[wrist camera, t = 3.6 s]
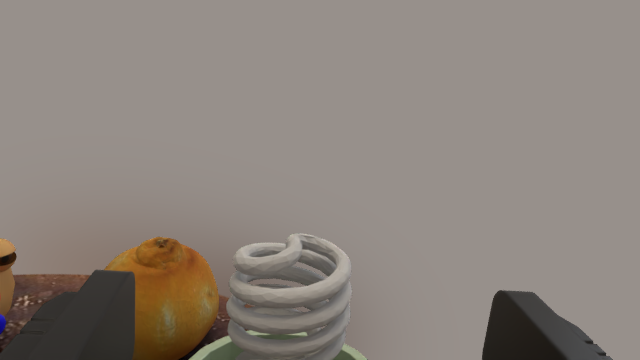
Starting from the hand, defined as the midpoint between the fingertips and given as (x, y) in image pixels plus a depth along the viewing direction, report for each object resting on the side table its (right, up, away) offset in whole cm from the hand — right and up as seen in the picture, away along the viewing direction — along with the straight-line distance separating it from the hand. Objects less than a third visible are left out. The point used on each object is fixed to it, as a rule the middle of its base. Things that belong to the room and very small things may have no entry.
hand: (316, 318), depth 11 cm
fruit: (-11, -8, +24) cm, 28 cm away
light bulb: (-2, -11, +14) cm, 18 cm away
